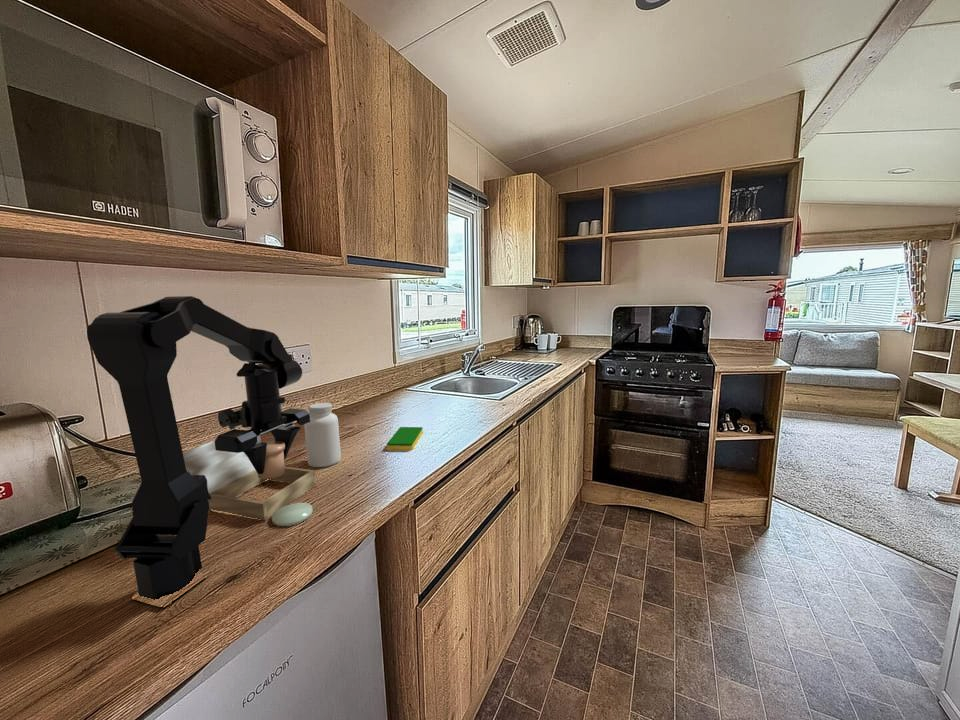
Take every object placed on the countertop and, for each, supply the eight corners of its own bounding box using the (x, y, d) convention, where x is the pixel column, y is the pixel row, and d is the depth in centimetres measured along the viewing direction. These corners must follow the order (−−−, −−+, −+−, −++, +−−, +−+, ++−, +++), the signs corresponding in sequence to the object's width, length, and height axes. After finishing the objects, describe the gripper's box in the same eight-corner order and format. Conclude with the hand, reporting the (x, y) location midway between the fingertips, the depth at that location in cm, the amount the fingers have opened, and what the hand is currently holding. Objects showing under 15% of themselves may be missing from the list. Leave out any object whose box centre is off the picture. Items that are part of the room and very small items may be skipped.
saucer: (294, 529, 69) (294, 525, 69) (263, 523, 71) (263, 519, 71) (320, 508, 76) (320, 505, 76) (291, 504, 78) (290, 500, 78)
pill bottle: (340, 453, 103) (336, 399, 101) (341, 465, 96) (337, 407, 93) (308, 458, 100) (303, 403, 98) (307, 470, 93) (301, 411, 91)
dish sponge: (386, 451, 105) (386, 443, 104) (400, 434, 119) (400, 426, 118) (412, 452, 104) (412, 443, 104) (423, 434, 118) (422, 426, 118)
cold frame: (264, 521, 72) (258, 464, 70) (184, 507, 77) (176, 454, 75) (316, 485, 86) (312, 437, 84) (245, 475, 91) (239, 429, 89)
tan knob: (272, 481, 76) (269, 453, 75) (249, 478, 77) (245, 450, 76) (293, 469, 81) (291, 442, 80) (271, 466, 83) (268, 440, 82)
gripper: (267, 382, 88) (274, 447, 90) (186, 404, 70) (197, 484, 72) (308, 385, 85) (314, 451, 87) (234, 408, 67) (244, 491, 69)
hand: (271, 467), depth 79 cm, fingers closed on tan knob, 5 cm apart
